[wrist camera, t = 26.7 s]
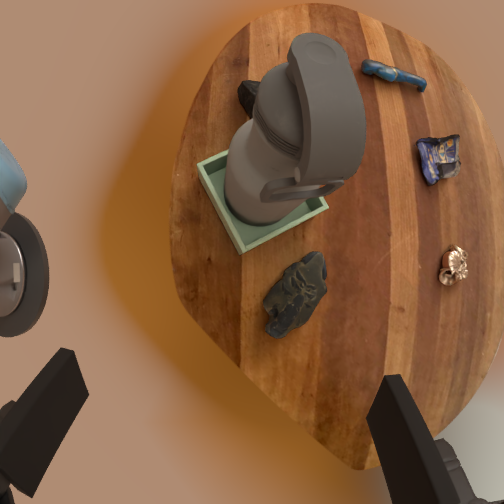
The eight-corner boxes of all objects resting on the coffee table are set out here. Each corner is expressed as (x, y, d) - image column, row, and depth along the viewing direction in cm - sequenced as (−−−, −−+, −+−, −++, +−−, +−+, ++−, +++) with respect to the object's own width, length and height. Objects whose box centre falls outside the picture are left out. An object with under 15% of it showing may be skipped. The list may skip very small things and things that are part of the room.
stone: (337, 268, 43) (352, 267, 38) (286, 344, 41) (296, 353, 36) (301, 241, 43) (313, 236, 38) (248, 318, 41) (253, 325, 36)
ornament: (451, 294, 46) (464, 295, 42) (431, 273, 45) (444, 273, 42) (466, 259, 47) (479, 258, 43) (447, 237, 46) (460, 235, 43)
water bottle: (297, 225, 42) (423, 157, 14) (229, 235, 41) (257, 162, 13) (285, 158, 43) (371, 28, 15) (219, 165, 41) (230, 16, 14)
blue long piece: (416, 84, 49) (355, 67, 48) (423, 72, 45) (361, 53, 44) (425, 97, 47) (362, 80, 46) (432, 85, 44) (368, 65, 42)
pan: (239, 255, 41) (243, 253, 36) (198, 177, 41) (196, 163, 36) (315, 215, 43) (329, 207, 38) (274, 142, 43) (282, 126, 38)
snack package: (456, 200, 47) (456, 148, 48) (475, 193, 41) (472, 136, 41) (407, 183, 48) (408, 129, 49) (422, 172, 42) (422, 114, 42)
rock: (266, 79, 44) (272, 59, 38) (302, 125, 44) (313, 107, 38) (230, 95, 43) (232, 74, 37) (265, 143, 43) (273, 126, 37)
